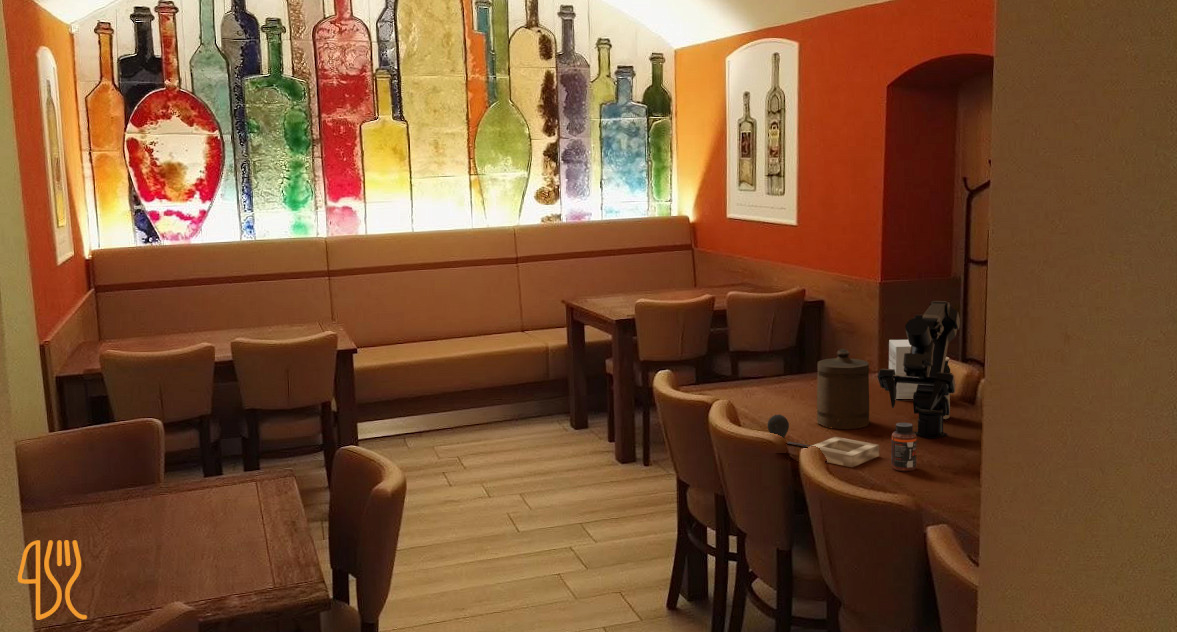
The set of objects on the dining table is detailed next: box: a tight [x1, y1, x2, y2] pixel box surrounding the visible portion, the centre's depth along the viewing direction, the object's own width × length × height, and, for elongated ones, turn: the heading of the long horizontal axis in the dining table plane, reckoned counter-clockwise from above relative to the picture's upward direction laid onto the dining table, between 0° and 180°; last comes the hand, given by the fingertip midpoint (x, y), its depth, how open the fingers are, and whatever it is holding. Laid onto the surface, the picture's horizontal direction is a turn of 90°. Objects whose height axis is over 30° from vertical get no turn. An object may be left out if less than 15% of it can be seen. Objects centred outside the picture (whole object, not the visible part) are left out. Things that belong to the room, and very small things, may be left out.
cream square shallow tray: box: [809, 436, 880, 468], centre depth 266 cm, size 13×13×3 cm
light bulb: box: [767, 414, 790, 439], centre depth 273 cm, size 6×6×10 cm
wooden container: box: [816, 348, 870, 430], centre depth 299 cm, size 15×15×22 cm
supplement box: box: [888, 339, 918, 399], centre depth 330 cm, size 13×13×18 cm
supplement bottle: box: [890, 422, 918, 472], centre depth 254 cm, size 6×6×11 cm
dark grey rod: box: [787, 441, 812, 448], centre depth 277 cm, size 12×1×1 cm, turn 49°
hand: (911, 408), depth 260 cm, fingers open, 9 cm apart
